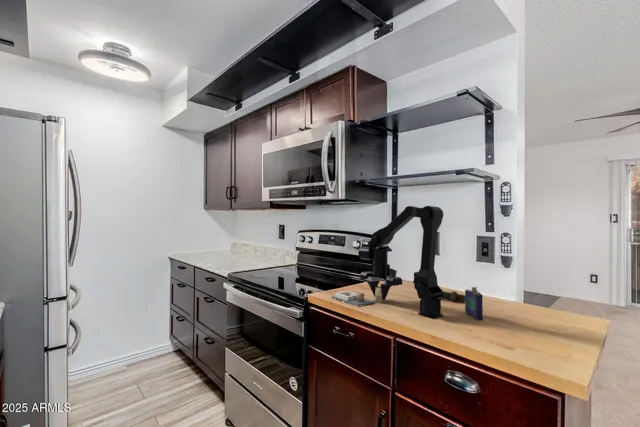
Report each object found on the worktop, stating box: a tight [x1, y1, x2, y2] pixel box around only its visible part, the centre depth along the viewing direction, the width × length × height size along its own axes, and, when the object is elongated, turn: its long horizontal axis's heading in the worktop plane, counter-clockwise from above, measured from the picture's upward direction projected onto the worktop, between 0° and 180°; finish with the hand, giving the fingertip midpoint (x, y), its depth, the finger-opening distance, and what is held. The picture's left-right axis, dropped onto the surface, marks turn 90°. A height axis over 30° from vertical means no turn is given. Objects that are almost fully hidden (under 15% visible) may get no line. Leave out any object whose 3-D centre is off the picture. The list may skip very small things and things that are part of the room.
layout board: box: [331, 290, 376, 307], centre depth 132 cm, size 16×10×4 cm, turn 38°
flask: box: [464, 286, 484, 322], centre depth 112 cm, size 9×3×11 cm, turn 4°
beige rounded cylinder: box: [374, 286, 386, 304], centre depth 130 cm, size 4×4×6 cm
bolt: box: [441, 290, 465, 304], centre depth 136 cm, size 6×5×15 cm
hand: (379, 298), depth 130 cm, fingers closed on beige rounded cylinder, 4 cm apart
